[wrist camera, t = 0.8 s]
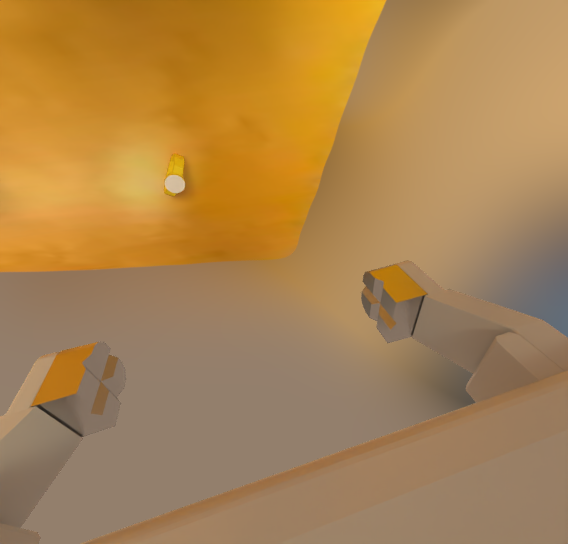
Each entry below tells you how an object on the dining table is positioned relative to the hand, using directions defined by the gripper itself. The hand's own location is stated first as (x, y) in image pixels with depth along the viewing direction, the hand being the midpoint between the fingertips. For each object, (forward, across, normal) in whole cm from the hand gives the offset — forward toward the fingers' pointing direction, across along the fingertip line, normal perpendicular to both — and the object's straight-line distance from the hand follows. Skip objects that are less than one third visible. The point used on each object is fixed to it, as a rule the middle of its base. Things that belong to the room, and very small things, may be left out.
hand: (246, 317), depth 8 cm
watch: (+40, +7, +5) cm, 41 cm away
